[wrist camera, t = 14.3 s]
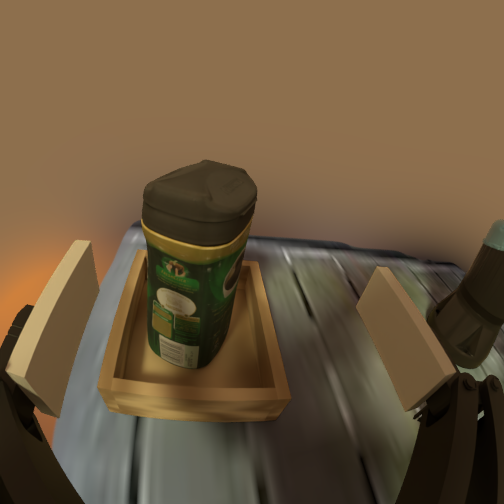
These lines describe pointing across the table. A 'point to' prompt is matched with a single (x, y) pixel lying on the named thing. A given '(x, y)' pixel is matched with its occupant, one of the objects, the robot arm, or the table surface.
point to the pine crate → (203, 379)
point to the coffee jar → (194, 257)
